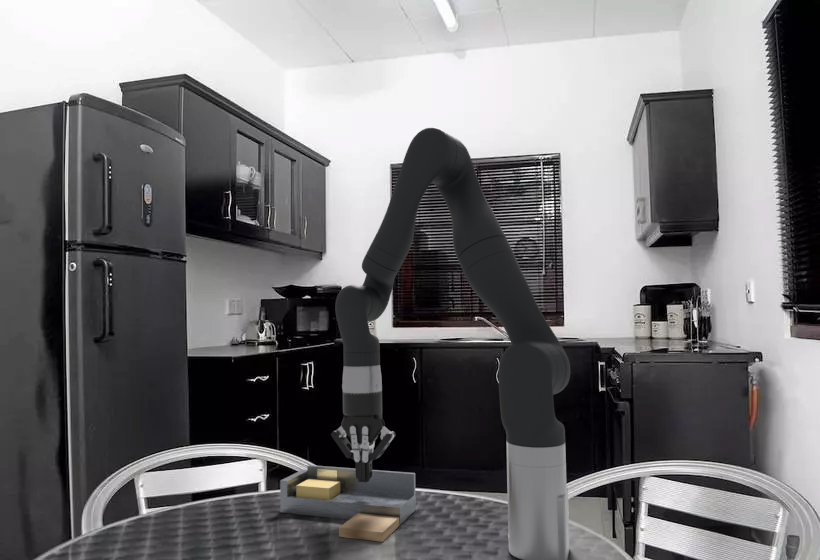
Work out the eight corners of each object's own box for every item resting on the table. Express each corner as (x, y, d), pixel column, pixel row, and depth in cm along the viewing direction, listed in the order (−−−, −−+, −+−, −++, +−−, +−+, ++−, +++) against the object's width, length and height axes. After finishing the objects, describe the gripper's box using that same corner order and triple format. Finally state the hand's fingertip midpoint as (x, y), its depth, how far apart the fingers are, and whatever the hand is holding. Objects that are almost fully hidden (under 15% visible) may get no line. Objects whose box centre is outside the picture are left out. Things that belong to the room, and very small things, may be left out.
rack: (415, 510, 117) (415, 473, 117) (400, 524, 109) (399, 485, 109) (302, 499, 125) (302, 464, 125) (280, 512, 117) (280, 475, 117)
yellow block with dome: (340, 481, 120) (306, 478, 122) (328, 488, 115) (293, 485, 118) (340, 507, 120) (306, 503, 122) (329, 515, 115) (293, 511, 117)
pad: (399, 525, 108) (399, 517, 108) (382, 541, 101) (382, 532, 101) (358, 521, 111) (358, 513, 111) (339, 536, 103) (339, 527, 103)
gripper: (401, 387, 118) (403, 478, 117) (339, 386, 122) (340, 474, 121) (387, 392, 111) (389, 488, 110) (322, 391, 115) (323, 484, 114)
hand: (363, 481), depth 115 cm, fingers closed
